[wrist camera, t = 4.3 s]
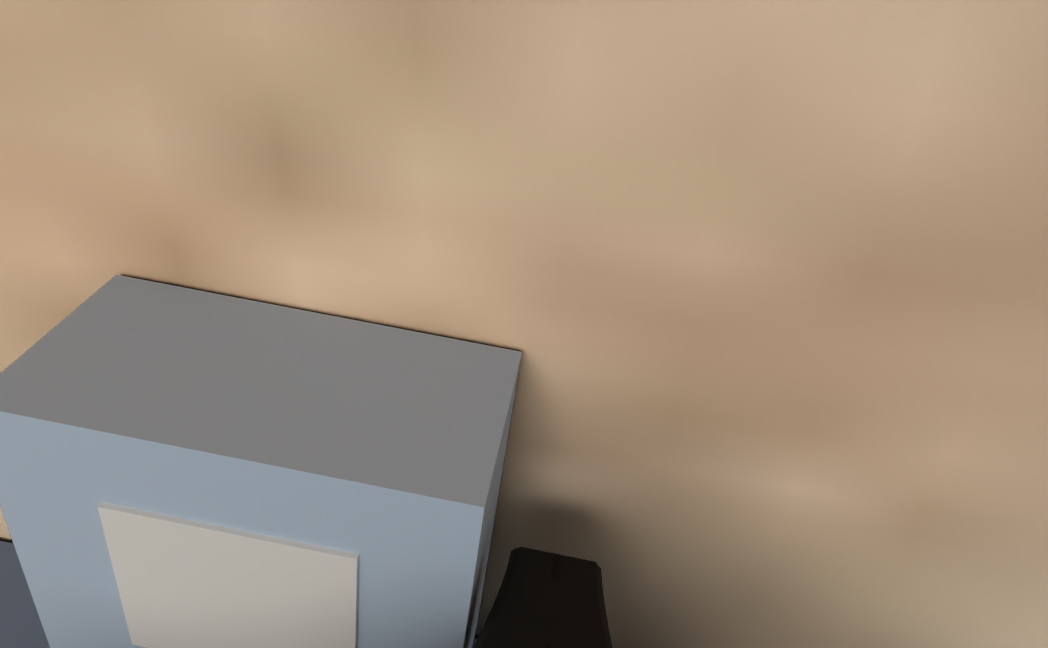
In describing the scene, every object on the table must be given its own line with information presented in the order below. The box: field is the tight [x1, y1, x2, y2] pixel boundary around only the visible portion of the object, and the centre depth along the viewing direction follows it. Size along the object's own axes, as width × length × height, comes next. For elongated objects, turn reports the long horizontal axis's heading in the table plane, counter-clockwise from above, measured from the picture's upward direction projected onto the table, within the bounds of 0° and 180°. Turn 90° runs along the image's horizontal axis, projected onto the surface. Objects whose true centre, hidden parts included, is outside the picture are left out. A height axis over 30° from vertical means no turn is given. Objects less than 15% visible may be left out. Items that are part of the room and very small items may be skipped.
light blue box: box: [0, 275, 522, 648], centre depth 12 cm, size 6×6×3 cm
